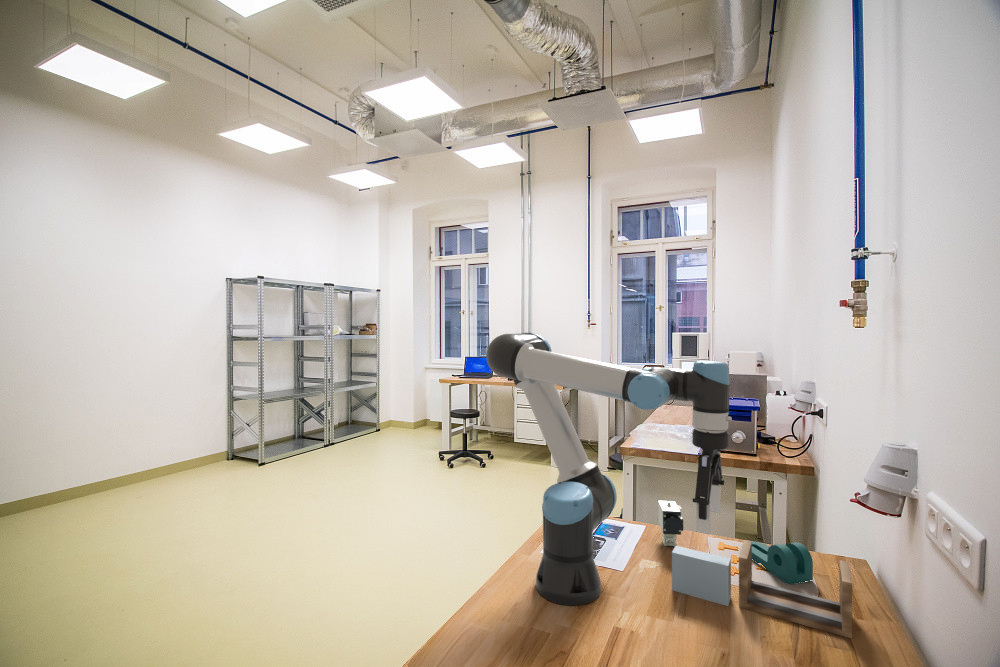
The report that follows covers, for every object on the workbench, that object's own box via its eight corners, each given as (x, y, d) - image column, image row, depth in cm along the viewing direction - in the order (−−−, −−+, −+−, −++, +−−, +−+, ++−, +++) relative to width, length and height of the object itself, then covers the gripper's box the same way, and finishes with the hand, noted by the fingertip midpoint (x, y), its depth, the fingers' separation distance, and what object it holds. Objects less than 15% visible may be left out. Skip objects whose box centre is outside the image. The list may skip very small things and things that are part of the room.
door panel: (672, 590, 111) (671, 552, 111) (676, 582, 114) (675, 545, 114) (728, 606, 104) (728, 566, 104) (730, 597, 108) (730, 558, 108)
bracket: (812, 582, 114) (812, 549, 114) (788, 585, 113) (788, 552, 113) (758, 548, 132) (758, 520, 132) (737, 550, 130) (737, 522, 130)
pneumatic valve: (664, 553, 129) (664, 509, 129) (657, 534, 141) (657, 494, 140) (685, 554, 128) (685, 510, 128) (676, 535, 140) (676, 495, 139)
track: (739, 606, 104) (738, 557, 104) (744, 585, 112) (744, 539, 112) (852, 638, 93) (852, 583, 93) (848, 612, 101) (848, 561, 101)
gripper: (719, 443, 95) (717, 547, 96) (735, 421, 116) (734, 507, 116) (680, 437, 99) (678, 538, 100) (703, 418, 120) (701, 501, 121)
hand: (708, 521), depth 108 cm, fingers open, 13 cm apart
